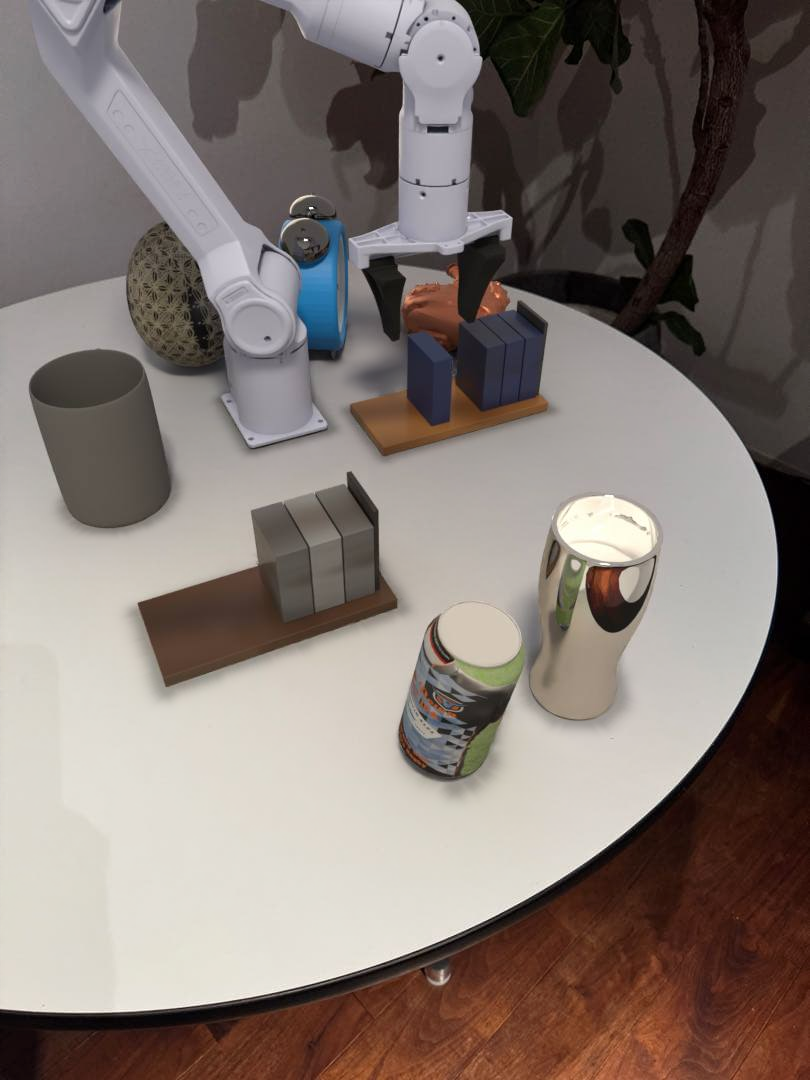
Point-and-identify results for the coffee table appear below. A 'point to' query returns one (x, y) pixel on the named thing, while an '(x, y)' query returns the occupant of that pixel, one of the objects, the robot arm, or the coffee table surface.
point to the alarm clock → (319, 270)
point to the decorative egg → (172, 301)
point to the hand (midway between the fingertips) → (429, 326)
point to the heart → (446, 308)
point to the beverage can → (461, 688)
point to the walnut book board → (234, 623)
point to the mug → (101, 436)
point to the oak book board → (416, 429)
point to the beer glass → (591, 599)
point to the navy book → (429, 377)
